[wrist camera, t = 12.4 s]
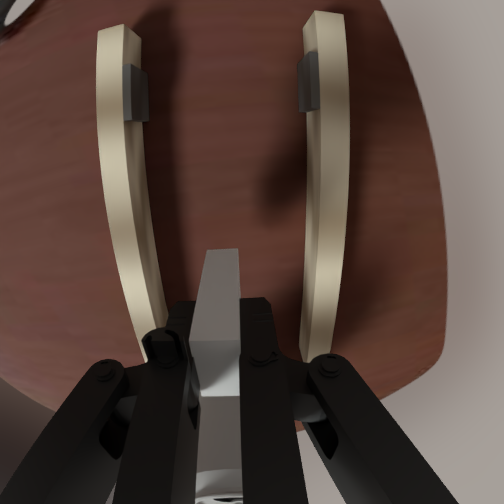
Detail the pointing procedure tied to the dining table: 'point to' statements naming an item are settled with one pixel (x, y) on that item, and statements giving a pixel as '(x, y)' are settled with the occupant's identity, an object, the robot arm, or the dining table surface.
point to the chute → (318, 175)
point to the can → (219, 451)
